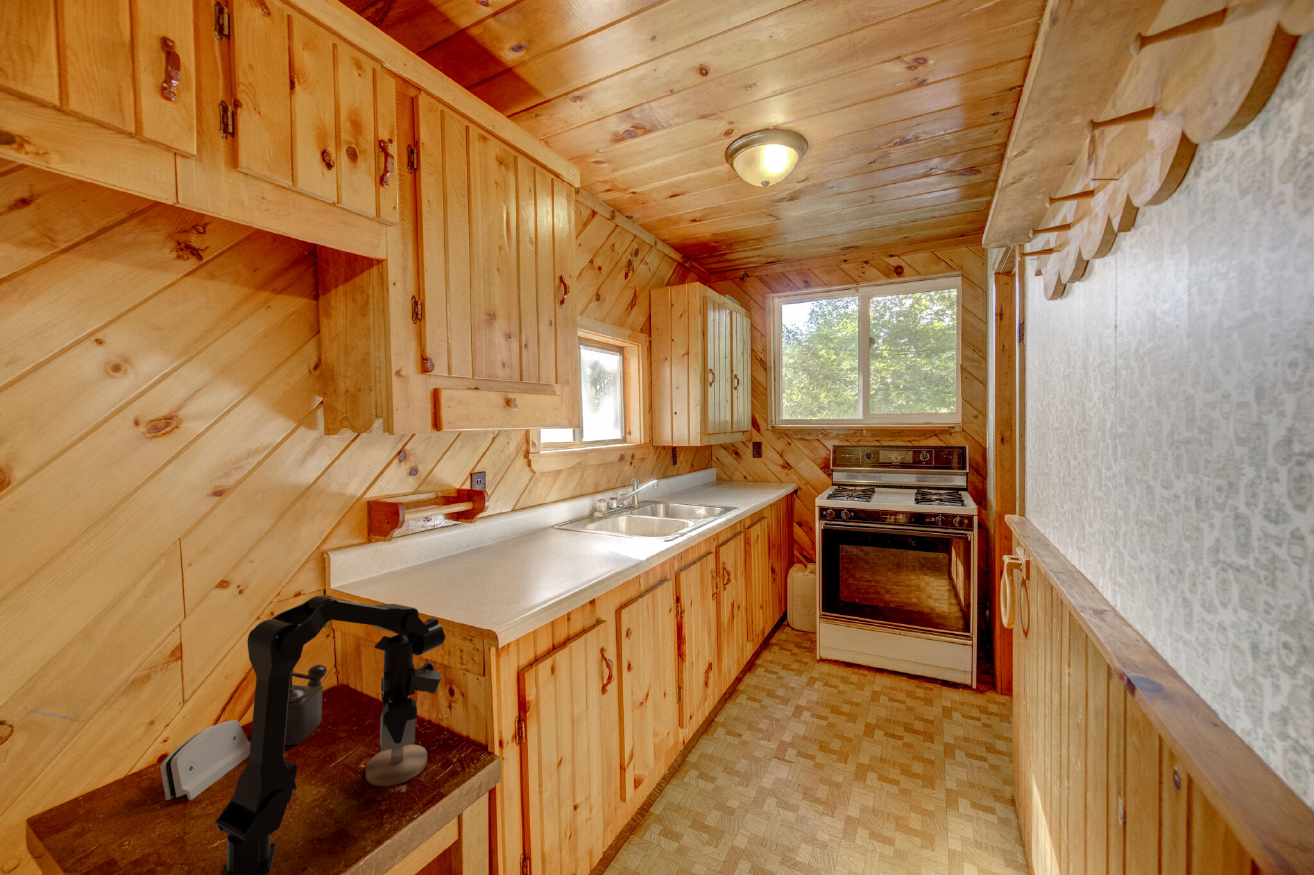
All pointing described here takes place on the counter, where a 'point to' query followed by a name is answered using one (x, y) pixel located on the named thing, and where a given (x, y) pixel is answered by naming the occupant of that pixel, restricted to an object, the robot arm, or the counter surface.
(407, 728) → the grey block
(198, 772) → the grey napkin holder
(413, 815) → the counter surface
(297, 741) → the dark grey coffee grinder
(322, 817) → the counter surface
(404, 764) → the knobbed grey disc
